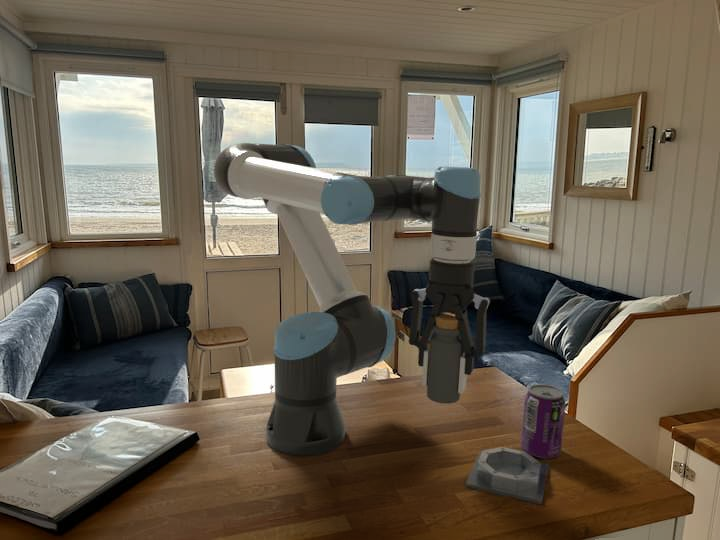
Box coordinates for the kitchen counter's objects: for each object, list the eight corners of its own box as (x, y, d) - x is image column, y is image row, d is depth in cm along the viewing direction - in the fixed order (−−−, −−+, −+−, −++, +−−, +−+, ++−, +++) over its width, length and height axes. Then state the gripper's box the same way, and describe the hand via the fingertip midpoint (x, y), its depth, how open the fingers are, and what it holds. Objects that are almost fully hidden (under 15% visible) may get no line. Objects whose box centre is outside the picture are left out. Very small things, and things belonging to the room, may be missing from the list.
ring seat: (465, 486, 93) (466, 472, 92) (480, 452, 103) (480, 439, 103) (541, 504, 88) (542, 489, 88) (548, 467, 99) (549, 453, 98)
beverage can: (563, 463, 100) (569, 400, 98) (522, 458, 102) (527, 396, 99) (557, 444, 107) (563, 385, 105) (519, 440, 109) (524, 381, 106)
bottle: (462, 404, 97) (468, 321, 94) (428, 403, 98) (433, 320, 94) (456, 390, 103) (462, 312, 100) (425, 389, 103) (429, 310, 100)
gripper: (392, 257, 95) (387, 384, 100) (505, 269, 88) (493, 405, 93) (406, 250, 102) (400, 370, 107) (512, 261, 95) (500, 389, 100)
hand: (443, 386), depth 100 cm, fingers closed on bottle, 6 cm apart
